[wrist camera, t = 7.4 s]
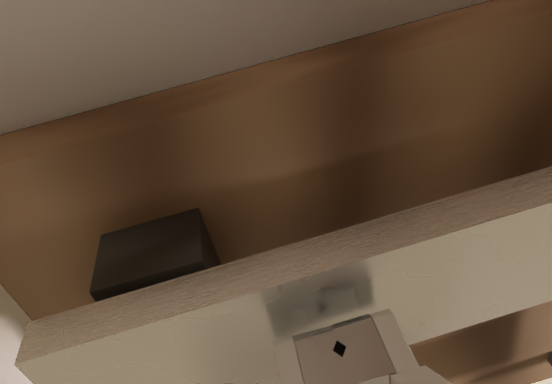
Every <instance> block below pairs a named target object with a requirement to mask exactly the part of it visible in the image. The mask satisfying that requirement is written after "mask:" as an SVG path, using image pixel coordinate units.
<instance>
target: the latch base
mask: <svg viewBox="0 0 552 384" xmlns="http://www.w3.org/2000/svg"><path fill="white" fill-rule="evenodd" d="M551 166H552V0H492V1H488V2H485V3H481V4H477V5H474V6H470V7H466V8H463V9H459V10H455V11H452V12H448V13H445V14H441V15H437V16H434V17H430V18H426V19H423V20H419V21H415V22H412V23H408V24H404V25H401V26H397V27H393V28H390V29H386V30H383V31H379V32H375V33H372V34H368V35H364V36H361V37H357V38H353V39H350V40H346V41H342V42H339V43H335V44H332V45H328V46H324V47H321V48H317V49H313V50H310V51H306V52H302V53H299V54H295V55H291V56H288V57H284V58H280V59H277V60H273V61H270V62H266V63H262V64H259V65H255V66H251V67H248V68H244V69H240V70H237V71H233V72H229V73H226V74H222V75H218V76H215V77H211V78H208V79H204V80H200V81H197V82H193V83H189V84H186V85H182V86H178V87H175V88H171V89H167V90H164V91H160V92H156V93H153V94H149V95H146V96H142V97H138V98H135V99H131V100H127V101H124V102H120V103H116V104H113V105H109V106H105V107H102V108H98V109H95V110H91V111H87V112H84V113H80V114H76V115H73V116H69V117H65V118H62V119H58V120H54V121H51V122H47V123H43V124H40V125H36V126H33V127H29V128H25V129H22V130H18V131H14V132H11V133H7V134H3V135H0V284H1V285H2V286H3V287H4V288H5V290H6V291H7V292H8V293H9V294H10V295H11V296H12V298H13V299H14V300H15V301H16V302H17V303H18V305H19V306H20V307H21V308H22V309H23V310H24V311H25V313H26V314H27V315H28V316H29V317H30V318H31V320H32V321H34V320H37V319H41V318H44V317H47V316H51V315H54V314H57V313H61V312H64V311H67V310H71V309H74V308H78V307H81V306H84V305H88V304H91V303H94V302H98V301H101V300H104V299H108V298H111V297H114V296H118V295H121V294H125V293H128V292H131V291H135V290H138V289H141V288H145V287H148V286H151V285H155V284H158V283H161V282H165V281H168V280H171V279H175V278H178V277H182V276H185V275H188V274H192V273H195V272H198V271H202V270H205V269H208V268H212V267H215V266H218V265H222V264H225V263H229V262H232V261H235V260H239V259H242V258H245V257H249V256H252V255H255V254H259V253H262V252H265V251H269V250H272V249H276V248H279V247H282V246H286V245H289V244H292V243H296V242H299V241H302V240H306V239H309V238H312V237H316V236H319V235H323V234H326V233H329V232H333V231H336V230H339V229H343V228H346V227H349V226H353V225H356V224H359V223H363V222H366V221H369V220H373V219H376V218H380V217H383V216H386V215H390V214H393V213H396V212H400V211H403V210H406V209H410V208H413V207H416V206H420V205H423V204H427V203H430V202H433V201H437V200H440V199H443V198H447V197H450V196H453V195H457V194H460V193H463V192H467V191H470V190H474V189H477V188H480V187H484V186H487V185H490V184H494V183H497V182H500V181H504V180H507V179H510V178H514V177H517V176H521V175H524V174H527V173H531V172H534V171H537V170H541V169H544V168H547V167H551ZM409 347H410V349H411V351H412V353H413V355H414V357H415V359H416V361H417V363H418V365H419V367H421V366H427V367H428V368H430V369H431V370H433V371H434V372H436V373H437V374H439V375H440V376H442V377H443V378H444V379H446V380H447V381H449V382H450V383H452V384H531V383H535V382H538V381H541V380H545V379H548V378H551V377H552V301H549V302H546V303H543V304H540V305H536V306H533V307H530V308H527V309H523V310H520V311H517V312H514V313H511V314H507V315H504V316H501V317H498V318H494V319H491V320H488V321H485V322H482V323H478V324H475V325H472V326H469V327H465V328H462V329H459V330H456V331H453V332H449V333H446V334H443V335H440V336H436V337H433V338H430V339H427V340H424V341H420V342H417V343H414V344H411V345H409Z"/></svg>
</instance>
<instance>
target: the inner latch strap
mask: <svg viewBox="0 0 552 384" xmlns="http://www.w3.org/2000/svg"><path fill="white" fill-rule="evenodd" d="M549 301H552V166H551V167H547V168H544V169H541V170H537V171H534V172H531V173H527V174H524V175H521V176H517V177H514V178H510V179H507V180H504V181H500V182H497V183H494V184H490V185H487V186H484V187H480V188H477V189H474V190H470V191H467V192H463V193H460V194H457V195H453V196H450V197H447V198H443V199H440V200H437V201H433V202H430V203H427V204H423V205H420V206H416V207H413V208H410V209H406V210H403V211H400V212H396V213H393V214H390V215H386V216H383V217H380V218H376V219H373V220H369V221H366V222H363V223H359V224H356V225H353V226H349V227H346V228H343V229H339V230H336V231H333V232H329V233H326V234H323V235H319V236H316V237H312V238H309V239H306V240H302V241H299V242H296V243H292V244H289V245H286V246H282V247H279V248H276V249H272V250H269V251H265V252H262V253H259V254H255V255H252V256H249V257H245V258H242V259H239V260H235V261H232V262H229V263H225V264H222V265H218V266H215V267H212V268H208V269H205V270H202V271H198V272H195V273H192V274H188V275H185V276H182V277H178V278H175V279H171V280H168V281H165V282H161V283H158V284H155V285H151V286H148V287H145V288H141V289H138V290H135V291H131V292H128V293H125V294H121V295H118V296H114V297H111V298H108V299H104V300H101V301H98V302H94V303H91V304H88V305H84V306H81V307H78V308H74V309H71V310H67V311H64V312H61V313H57V314H54V315H51V316H47V317H44V318H41V319H37V320H34V321H31V322H27V325H26V329H25V332H24V335H23V338H22V342H21V345H20V348H19V351H18V354H17V358H16V361H15V364H14V365H15V366H16V367H17V368H18V369H19V370H20V371H21V372H22V373H23V374H24V375H25V376H26V377H27V378H28V379H29V380H30V381H31V382H32V383H33V384H280V380H279V375H278V370H277V364H276V359H275V354H274V349H273V341H275V340H279V339H282V338H286V337H289V336H294V335H297V334H301V333H305V332H309V331H312V330H316V329H320V328H324V327H327V326H331V325H332V324H336V323H339V322H342V321H346V320H349V319H352V318H356V317H359V316H362V315H366V314H372V313H375V312H378V311H381V310H385V309H390V310H391V311H392V312H393V314H394V316H395V318H396V320H397V322H398V324H399V326H400V328H401V330H402V332H403V335H404V337H405V339H406V341H407V343H408V345H411V344H414V343H417V342H420V341H424V340H427V339H430V338H433V337H436V336H440V335H443V334H446V333H449V332H453V331H456V330H459V329H462V328H465V327H469V326H472V325H475V324H478V323H482V322H485V321H488V320H491V319H494V318H498V317H501V316H504V315H507V314H511V313H514V312H517V311H520V310H523V309H527V308H530V307H533V306H536V305H540V304H543V303H546V302H549Z"/></svg>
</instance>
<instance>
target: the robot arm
mask: <svg viewBox="0 0 552 384" xmlns="http://www.w3.org/2000/svg"><path fill="white" fill-rule="evenodd" d="M273 349H274V354H275V359H276V364H277V370H278V375H279V380H280V384H452V383H450V382H449V381H447V380H446V379H444V378H443V377H442V376H440V375H439V374H437V373H436V372H434V371H433V370H431V369H430V368H428V367H427V366H421V367H419V365H418V363H417V361H416V359H415V357H414V355H413V353H412V351H411V349H410V347H409V345H408V343H407V341H406V339H405V337H404V335H403V332H402V330H401V328H400V326H399V324H398V322H397V320H396V318H395V316H394V314H393V312H392V311H391V310H390V309H385V310H381V311H378V312H375V313H372V314H366V315H362V316H359V317H356V318H352V319H349V320H346V321H342V322H339V323H336V324H332V325H331V326H327V327H324V328H320V329H316V330H312V331H309V332H305V333H301V334H297V335H294V336H289V337H286V338H282V339H279V340H275V341H273Z"/></svg>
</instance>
